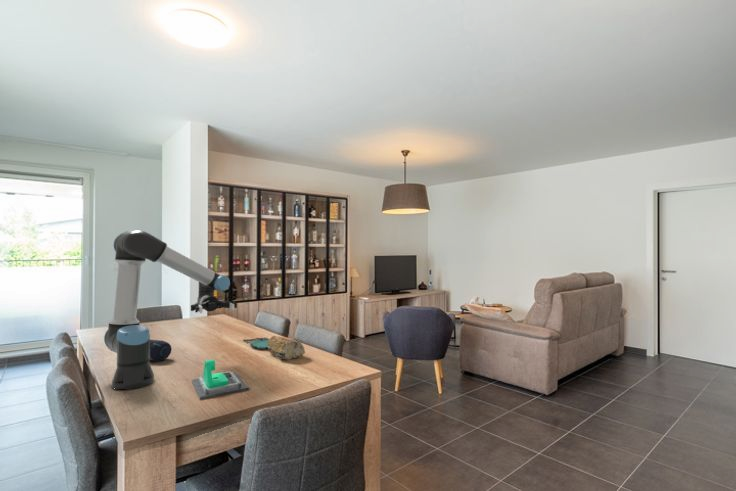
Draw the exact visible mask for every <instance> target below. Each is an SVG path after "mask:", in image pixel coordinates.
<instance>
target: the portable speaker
mask: <svg viewBox="0 0 736 491" xmlns="http://www.w3.org/2000/svg"><path fill="white" fill-rule="evenodd" d="M171 353H172V346H171V344H170V343H169V342H168V341H164V340H159V339H150V358H149V361H154V362H159V361H161V362H162V361H164V360H166V359H167V358H168V357H169V356H170V355H171Z"/></svg>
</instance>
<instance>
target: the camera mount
mask: <svg viewBox="0 0 736 491" xmlns="http://www.w3.org/2000/svg"><path fill="white" fill-rule="evenodd" d="M215 370H216V360H215V359H207V360H205V361H204V364H203V372H202V376H203V379H204V381H205V383H206V385H207V387H208V388H212V387H217V386H223V385H228V379H227V378H226V377H225V375H224V374H223V372H217V373H212V372H213V371H214V372H215Z"/></svg>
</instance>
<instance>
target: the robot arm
mask: <svg viewBox="0 0 736 491" xmlns="http://www.w3.org/2000/svg"><path fill="white" fill-rule="evenodd" d="M113 249H114V251H115V258H114V261H115V262H116V263H117V264H118V270H117V277H116V278H117V279H116V290H115V300H114V308H113V318H112V319H110V321H108V326H107V328H108V329H107V330H106V331H105V333H104V337H103V340H104V341H103V342H104V344H105V346H106V348H107V349H108V350H110V351H111V352H113V353H115V354H116V368H115V369H116V370H115V371H114V375H113V377H112V380H111V388H112V389H113V388H115V389H114V390H116V389H129V390H133V389H132V388H135V389H139V387H140V388H144V387H146V386H149V385H151V384H152V383H154V381H155V373H154V372H153V369H152V365H151V363H150V362H151V360H149V358H150V340H151V339H150V338H151V334H150V329H149V328H148V327H147V326H145V325H140V322H141V321H140V320H139V319H138V318H137V314H138V312H137V311H138V300H139V293H140V283H141V282H140V281H141V273H142V272H141V271H142V265H143V264H144V263H146V260H149V261H150V262H152V263H156V262H158V263H160V264H162V265H164V266H166V267H168V268H169V269H172V270H174V271H176V272H179V273H180V274H181V275H182V274H183V275H185V276H187V277H189V278H191V279H193V280H194V281H196V282H198V296H197V302H196V303H194V304H191V305H190V311H191V312H194V311H195V312H194V313H198V312H199V314H203V310H205V311H206V312H213V311H214V312H215V311H216V310H217V309H223V308H225V309H229V310H231V311H232V312H233V311H235V309H236V308H238V302H236V301H234V300H231V301H229V300H224V301H222V300H219V299H218V298H217V297H216V296H215V291H217V292H226V291H227V290H228V289H229V288H230V286H231V281H230V278H229V277H228V276H226V275H223V274H219V273H218V272H215V271H214V270H213V269H210V268H209V267H206V266H204V265H202V264H201V263H198V262H196V261H195V260H193V259H191V258H189V257H187V256H185V255H184V254H182V253H180V252H178V251H176V250H174V249H172V248H170V247H169V246H168V244H167V242H165V241H163V240H162V239H159V238H158V237H155V236H154V235H153V234H151V233H148V232H146V231H145V230H126V231H124V232H122V233H119V235H117V236H116V237H115V239H114V241H113Z"/></svg>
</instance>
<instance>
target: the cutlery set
mask: <svg viewBox="0 0 736 491" xmlns="http://www.w3.org/2000/svg"><path fill="white" fill-rule="evenodd" d="M269 339H270V338H268V337H255V338H252V339H251V338H250V339H242V341H243V342H244V343H246V344H250V346H251V347H252V348H255V349H259V350H264V349H268V340H269Z"/></svg>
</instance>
